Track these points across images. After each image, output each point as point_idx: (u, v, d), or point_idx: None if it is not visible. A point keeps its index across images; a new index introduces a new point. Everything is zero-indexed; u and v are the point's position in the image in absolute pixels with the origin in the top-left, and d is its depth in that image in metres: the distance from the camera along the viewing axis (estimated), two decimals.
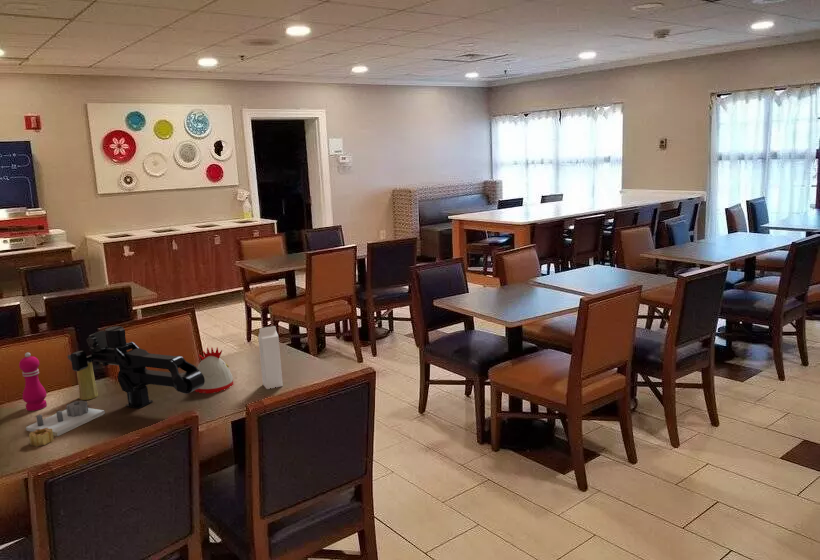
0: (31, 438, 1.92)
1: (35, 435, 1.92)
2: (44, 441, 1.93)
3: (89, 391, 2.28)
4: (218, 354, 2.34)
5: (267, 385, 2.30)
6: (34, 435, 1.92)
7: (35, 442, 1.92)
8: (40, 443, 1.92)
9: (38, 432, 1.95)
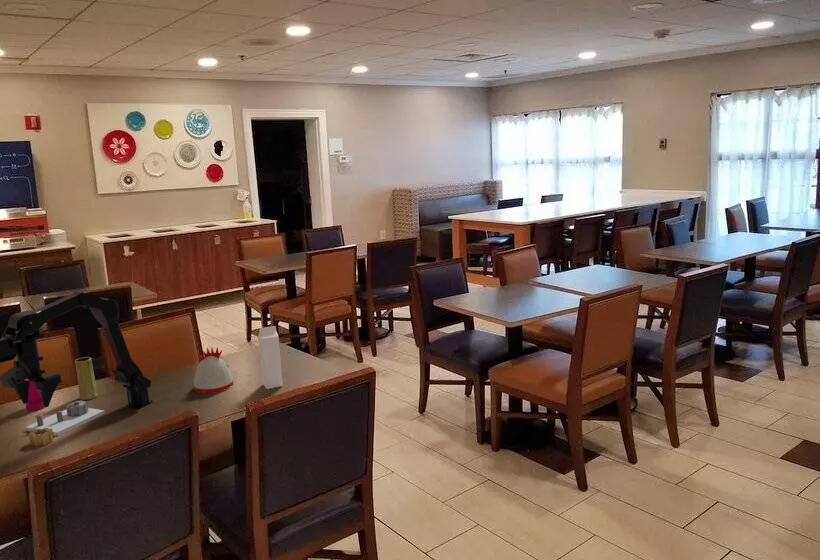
0: (31, 438, 1.92)
1: (35, 435, 1.92)
2: (44, 441, 1.93)
3: (89, 391, 2.28)
4: (218, 354, 2.34)
5: (267, 385, 2.30)
6: (34, 435, 1.92)
7: (35, 442, 1.92)
8: (40, 443, 1.92)
9: (38, 432, 1.95)
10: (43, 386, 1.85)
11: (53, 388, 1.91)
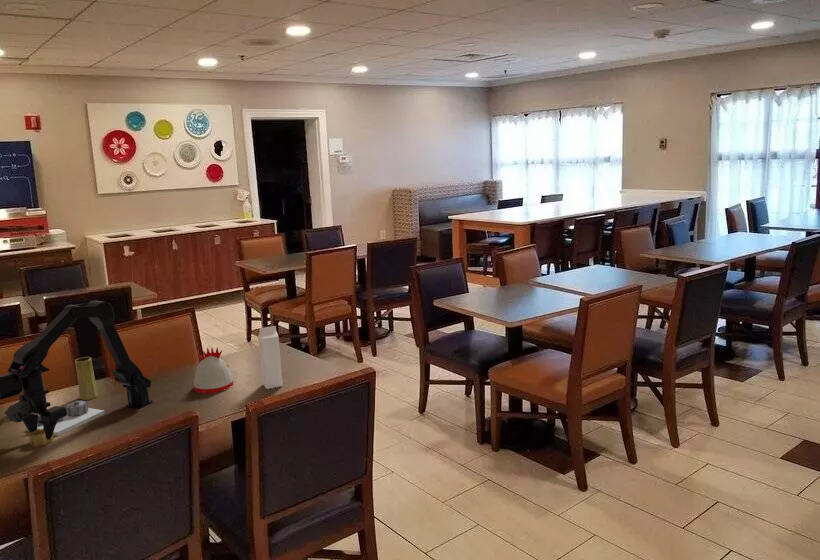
0: (31, 438, 1.92)
1: (35, 435, 1.92)
2: (44, 441, 1.93)
3: (89, 391, 2.28)
4: (218, 354, 2.34)
5: (267, 385, 2.30)
6: (34, 435, 1.92)
7: (35, 442, 1.92)
8: (40, 443, 1.92)
9: (38, 432, 1.95)
10: (49, 420, 1.87)
11: (55, 421, 1.93)
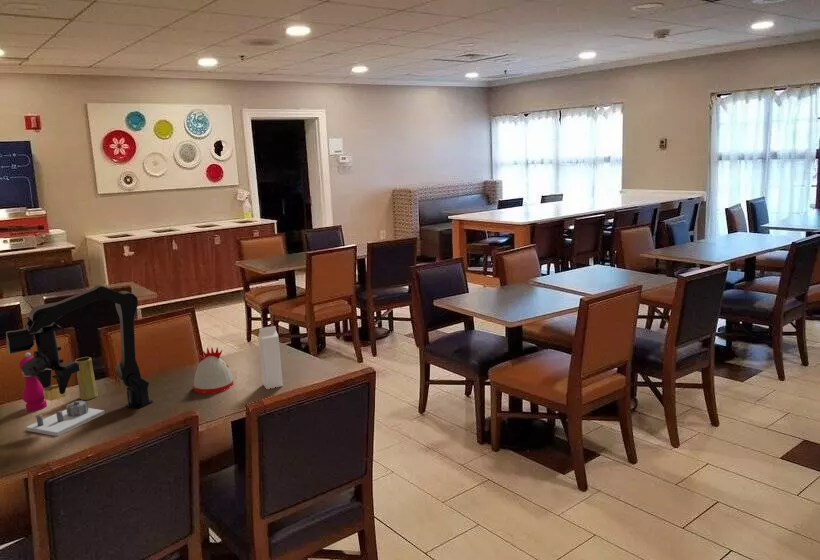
0: (45, 393, 2.02)
1: (49, 390, 2.02)
2: (58, 395, 2.02)
3: (89, 391, 2.28)
4: (218, 354, 2.34)
5: (267, 385, 2.30)
6: (48, 390, 2.02)
7: (49, 396, 2.01)
8: (54, 397, 2.02)
9: (51, 388, 2.05)
10: (63, 374, 1.97)
11: (68, 376, 2.03)
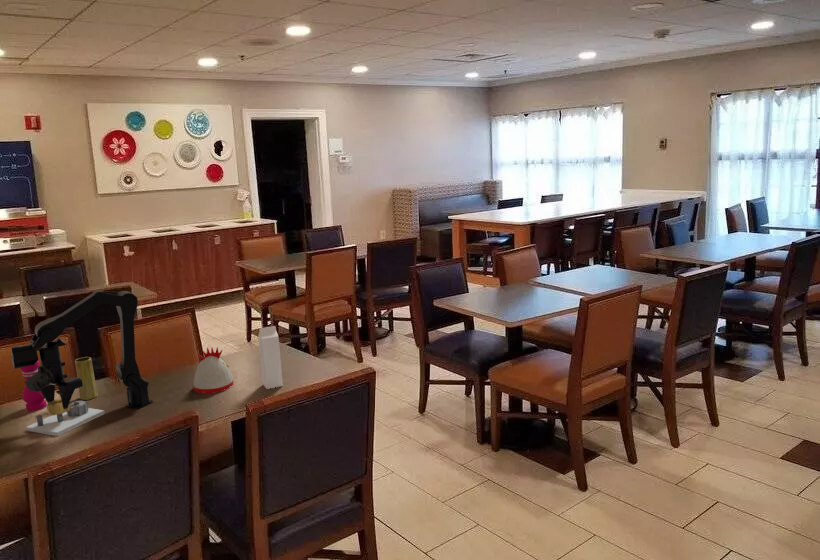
0: (49, 407, 2.04)
1: (53, 404, 2.04)
2: (61, 410, 2.04)
3: (89, 391, 2.28)
4: (218, 354, 2.34)
5: (267, 385, 2.30)
6: (52, 404, 2.04)
7: (53, 411, 2.03)
8: (57, 412, 2.04)
9: (55, 402, 2.07)
10: (66, 390, 1.99)
11: (72, 391, 2.05)
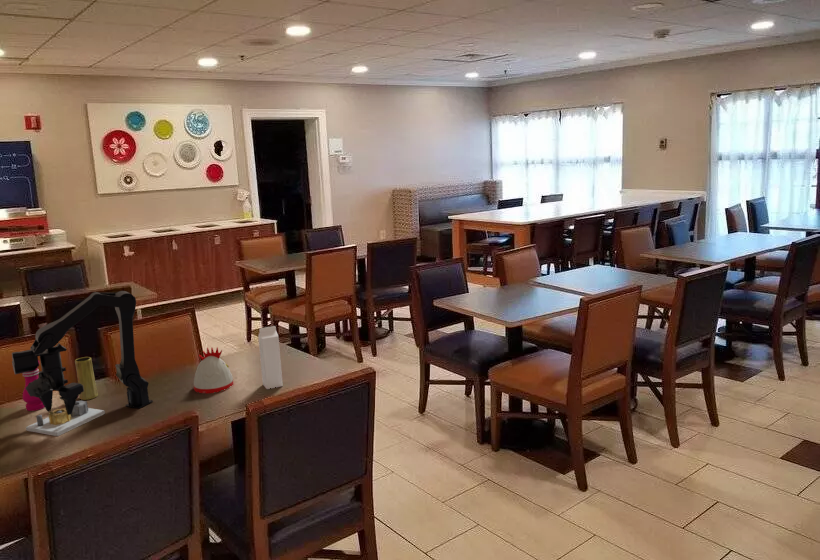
0: (50, 417, 2.05)
1: (54, 414, 2.04)
2: (62, 420, 2.05)
3: (89, 391, 2.28)
4: (218, 354, 2.34)
5: (267, 385, 2.30)
6: (53, 414, 2.04)
7: (54, 421, 2.04)
8: (59, 422, 2.05)
9: None
10: (67, 395, 1.99)
11: (75, 397, 2.05)
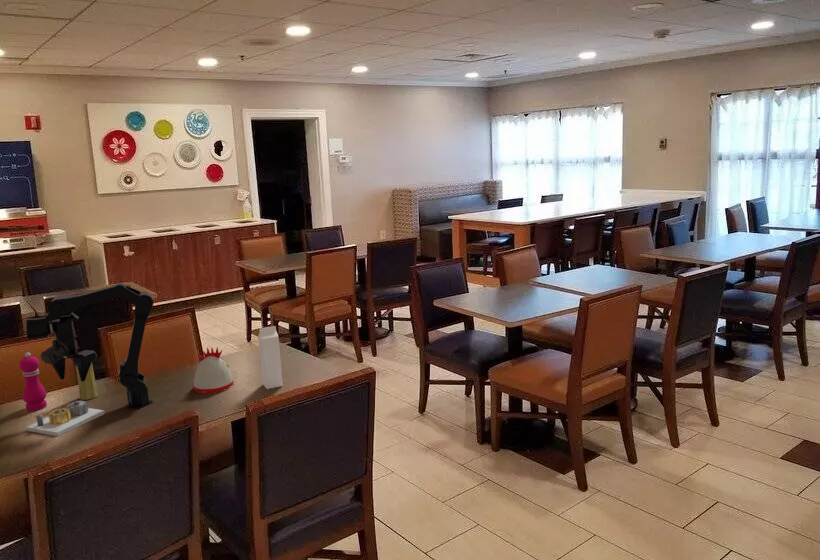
0: (50, 417, 2.05)
1: (54, 414, 2.04)
2: (62, 420, 2.05)
3: (89, 391, 2.28)
4: (218, 354, 2.34)
5: (267, 385, 2.30)
6: (53, 414, 2.04)
7: (54, 421, 2.04)
8: (59, 422, 2.05)
9: None
10: (81, 361, 2.05)
11: (89, 364, 2.11)
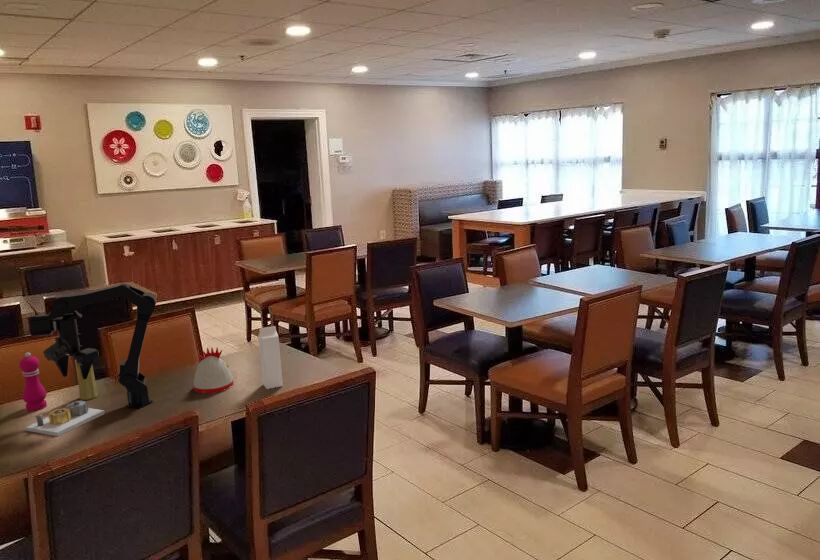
0: (50, 417, 2.05)
1: (54, 414, 2.04)
2: (62, 420, 2.05)
3: (89, 391, 2.28)
4: (218, 354, 2.34)
5: (267, 385, 2.30)
6: (53, 414, 2.04)
7: (54, 421, 2.04)
8: (59, 422, 2.05)
9: None
10: (83, 359, 2.06)
11: (91, 362, 2.12)
